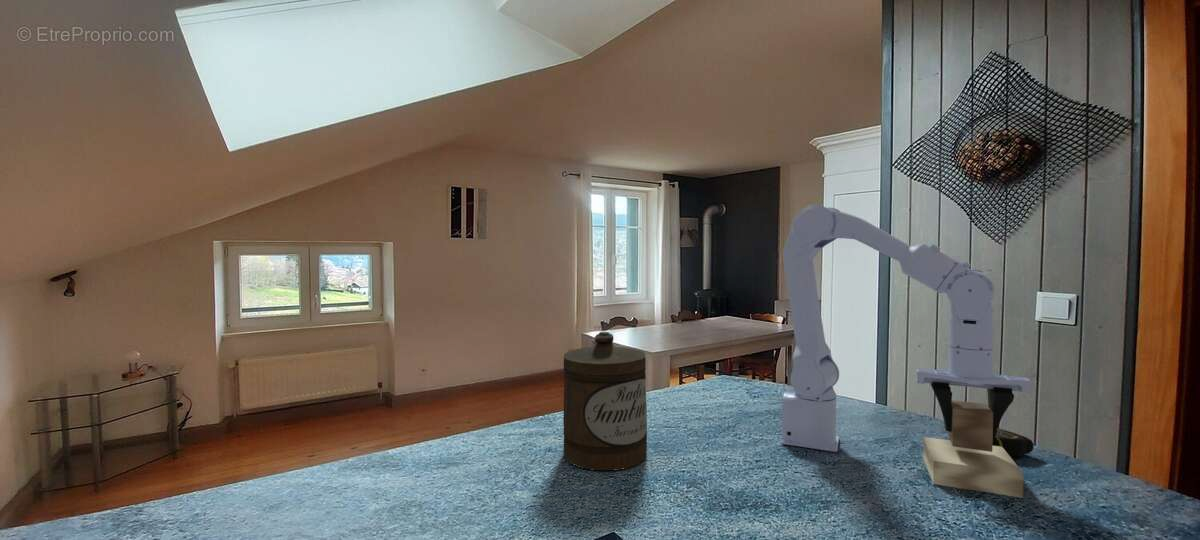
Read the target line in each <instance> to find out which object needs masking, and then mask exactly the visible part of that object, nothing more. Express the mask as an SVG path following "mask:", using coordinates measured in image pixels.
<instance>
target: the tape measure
mask: <svg viewBox="0 0 1200 540" xmlns="http://www.w3.org/2000/svg"><path fill="white" fill-rule="evenodd" d="M993 446H1000V447H1003V448H1004V450H1005V451H1006V452H1007V453H1008V455H1009V456H1010V457H1011V458H1019V457H1023V456H1025V455H1027V454H1030V453H1032V452H1033V451H1034V442H1033V440H1031V439H1030V438H1028V437H1027V436H1024V435H1021V434H1018V433H1016V432H1013V431H1009V430H1006V429H1002V428H999V427H998V429H997V433H996V437H993Z"/></svg>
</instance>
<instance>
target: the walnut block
mask: <svg viewBox="0 0 1200 540" xmlns="http://www.w3.org/2000/svg"><path fill="white" fill-rule="evenodd" d="M951 420H952V431H951V432H949V431H947V433H948V435H947V436H948V440H950V441H951V444H952V446H953V447H961V448H968V449H975V450H982V451H989V452H992V446H993V412H992V411H991V409H990V408H989V407H988V403H980V402H972V401H971V402H970V401H961V400H953V399H952V402H951Z"/></svg>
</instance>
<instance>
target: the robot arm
mask: <svg viewBox="0 0 1200 540" xmlns="http://www.w3.org/2000/svg"><path fill="white" fill-rule="evenodd" d="M837 239H846V240H847V239H849V240H856V241H858V242H859V243H861V244H863V245H866V246H867V247H869V248H871V249H873V250H876V251H877V252H880V253H881V254H883V255H885V256H887V257H889V258H892V259H893V260H895V261H897V262H898V263H899V265H900V270H901V272H902V273H903V274H904V275H906V276H907V277H910V278H911V279H913V280H915V281H916V282H919V283H920V284H921V285H922V284H923V285H924V286H925V287H928V288H929V289H931V290H933V291H935V292H937V293H938V294H946V295H947V297H948V300H949V302H950V316H949V318H948V368H947V369H920V368H919V369H917V368H916V369H915V381H916V382H915V383H917V384H921V385H922V384H924V385H925V384H930V387H931V389H932V391H933V392H934V395H935V397H936V399H937V403H938V404H939V408H940V410H941V413H942V418H943V423H944V424H943V425H944V429H945V431H946V432H948V431H949V432H951V431H952V420H951V402H952V400H953V392H952V388H951V386H956V387H967V388H968V387H969V388H978V389H979V388H980V389H987V390H986V391H987V405H988V407H989V408H990V409H991V411H992V412H993V437H996V433H997V429H998V428H999V426H1000V423H1001V421H1002V418H1003V416H1004V414H1005V413H1006V411H1007V410H1008V408H1009V407H1010V405H1011V404H1012V403H1013V402H1014V399H1015V394H1014V393H1013V392H1020V393H1021V394H1023V393H1024V394H1030V393H1031V380H1030V379H1028V377H1020V376H1012V375H1011V376H1010V375H1004V374H996V373H994V338H995V337H994V336H995V335H994V331H995V330H994V325H995V323H994V322H995V321H994V320H995V319H994V318H993V317H992V316H993V314H994V307H993V303H992V301H993V299H994V297H995V292H996V291H995V289H996V287H995V284H994V283H995V282H994V281H993V280H992V278H991V277H990V276H989V275H988V274H985V273H984V271H982V270H980V269H975V268H974V269H973V268H972V269H969V268H970V267H971V263H969V262H968V261H966V260H965V261H963V262H961V261H959V260H956V259H955V258H954V257H951V256H949V255H947V254H946V253H943V252H941V247H940V246H938V245H936V244H931V245H927V244H926V243H919V244H915V245H909V244H908V243H906V242H904V241H902V240H901V239H899V238H898V237H896V236H893V235H892V234H890V233H888V232H886V231H885V230H883V229H881V228H879V227H877V226H876V225H874V224H873V223H870V222H868V221H867V220H865V219H864V218H861V217H859V216H856V215H853V214H849V213H848V212H842V211H841V210H839V209H837V208H834V207H825V206H824V205H821V204H811V205H807V206H806V207H804V208H803V209H802V210H801V211H800V212H799V213H797V215H796V216H794V218H793V220H791V228H790V230H789V234H788V236H787V239H786V241H785V243H784V244H785V245H784V247H783V249H782V260H783V261H782V262H783V268H784V274H785V279H786V280H785V281H786V286H787V287H786V288H787V295H788V301H789V308H790V313H791V321H792V326H793V327H792V328H793V333H794V340H795V348H794V351H793V354H792V371H791V373H790V377H789V378H790V380H789V381H790V384H791V387H792V389H793V390H794V391H793V392H786V391H785V392H784V393H783V396H782V402H781V403H782V405H781V444H782V445H788V446H793V447H799V448H800V447H802V448H808V449H813V450H814V449H815V450H819V451H820V450H821V451H827V452H834V453H837V452H838V450H839V449H838V448H839V442H840V441H839V440H840V436H839V435H838V434H837V393H836V391H835V389H834V386H835V385H837V383H838V381H839V379H840V369H839V367H838V365H837V363H836V362H835V361H834V359H833V357H832V351H831V349H830V347H829V345H828V344H827V342H826V339H825V333H824V332H825V331H824V325H823V320H822V313H821V312H822V311H821V306H820V300H819V293H818V286H817V281H816V274H815V268H814V262H813V261H814V258H816V256H817V255H818V254H820V252H821V251H822V249H824V247H826V246H827V245H828V244H830V243H832V242H834V241H835V240H837Z"/></svg>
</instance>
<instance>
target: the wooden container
mask: <svg viewBox="0 0 1200 540" xmlns="http://www.w3.org/2000/svg"><path fill="white" fill-rule="evenodd" d="M594 341H595V343H596V344H595V345H594V346H591V347H581V348H576V349H571V350H568V351H567V352H566V353H564V355H563V373H564V374H563V421H562V422H563V424H562V425H563V432H562V433H563V456H565V457H564V459H565V458H566V459H567V460H568V461H569V462H571V463H573V464H575V465H577V466H580V467H583V468H588V469H593V470H592V471H594V470H614V469H622V468H627V469H629V468H628V467H630V468H632V467H631V466H633V467H635V466H634V465H636V466H638V465H639V464H641V463H642V462H643V461H644V460H645V459H646V458H647V454H648V442H647V441H648V438H647V437H648V408H647V406H648V405H647V404H648V403H647V376H646V375H647V373H646V370H647V369H646V366H647V364H646V363H647V360H646V353H645V352H644V351H642V350H639V349H634V348H630V347H622V346H615V345H614V343H613V342H614V335H613V334H612V333H610V332H608V331H601V332H599V333H597V334H596V335H595V336H594ZM566 459H565V460H566ZM567 460H566V461H567ZM568 461H567V462H568ZM641 461H642V462H641ZM569 462H568V463H569ZM640 462H641V463H640ZM571 463H570V464H571ZM638 463H639V464H638ZM637 464H638V465H637ZM577 466H576V467H577ZM580 467H579V468H580ZM583 468H582V469H583ZM622 470H623V469H622Z"/></svg>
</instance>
